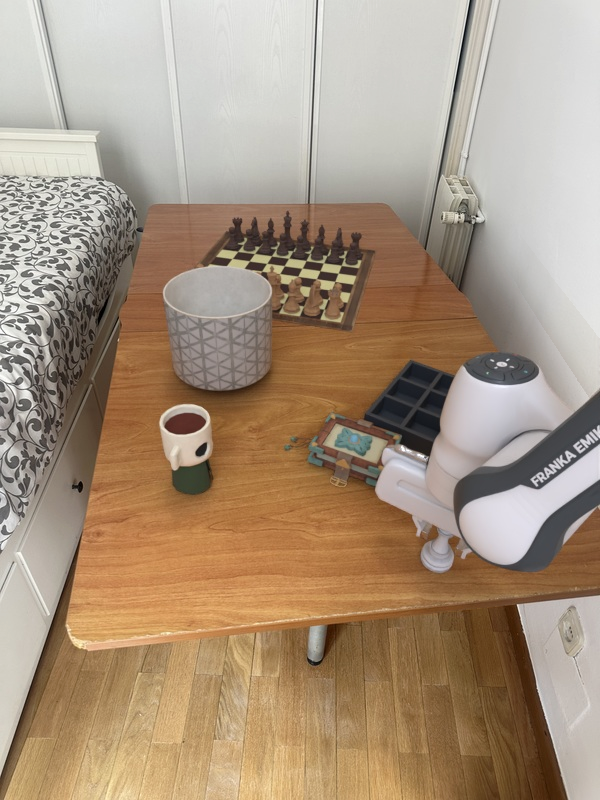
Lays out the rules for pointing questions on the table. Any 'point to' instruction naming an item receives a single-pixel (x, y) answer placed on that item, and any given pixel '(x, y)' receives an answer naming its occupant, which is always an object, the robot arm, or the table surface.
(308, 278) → the chessboard
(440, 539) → the chess piece
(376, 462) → the decorative book
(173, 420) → the character mug
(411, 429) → the grid
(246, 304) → the planter
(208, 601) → the table surface
